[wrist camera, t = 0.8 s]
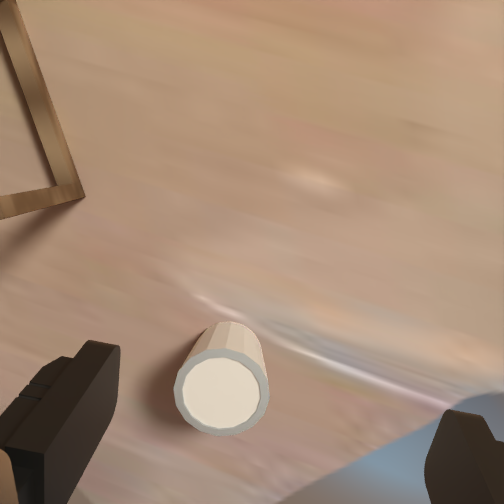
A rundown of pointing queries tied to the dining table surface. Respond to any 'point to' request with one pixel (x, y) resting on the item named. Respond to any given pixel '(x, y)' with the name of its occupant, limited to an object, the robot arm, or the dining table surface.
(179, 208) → the dining table surface
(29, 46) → the frame
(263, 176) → the dining table surface
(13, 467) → the robot arm
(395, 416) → the dining table surface
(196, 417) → the white cup
